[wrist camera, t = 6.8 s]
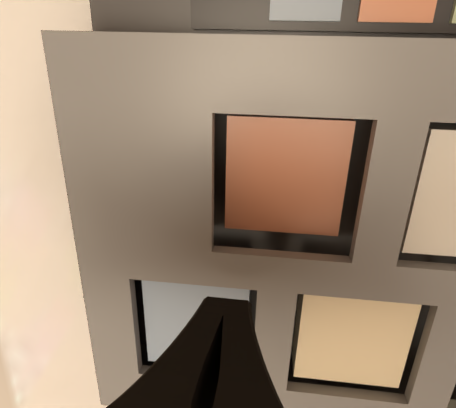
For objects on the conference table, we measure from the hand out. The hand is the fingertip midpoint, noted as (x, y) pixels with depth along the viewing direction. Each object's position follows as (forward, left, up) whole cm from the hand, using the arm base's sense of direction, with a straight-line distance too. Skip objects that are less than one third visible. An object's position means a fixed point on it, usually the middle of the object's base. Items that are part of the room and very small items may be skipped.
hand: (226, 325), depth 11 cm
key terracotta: (-2, -3, -6) cm, 7 cm away
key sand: (-5, +3, -5) cm, 8 cm away
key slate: (+2, +3, -5) cm, 6 cm away
